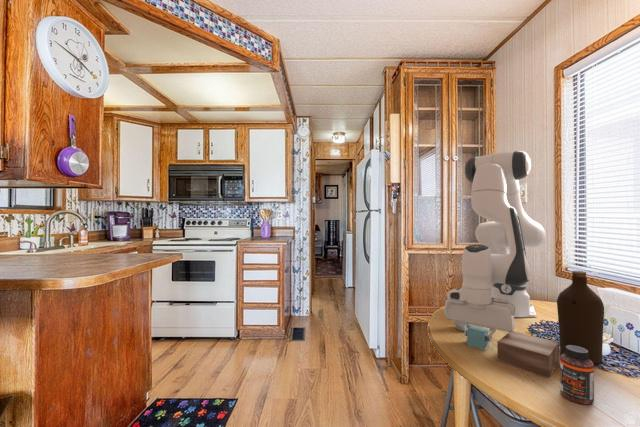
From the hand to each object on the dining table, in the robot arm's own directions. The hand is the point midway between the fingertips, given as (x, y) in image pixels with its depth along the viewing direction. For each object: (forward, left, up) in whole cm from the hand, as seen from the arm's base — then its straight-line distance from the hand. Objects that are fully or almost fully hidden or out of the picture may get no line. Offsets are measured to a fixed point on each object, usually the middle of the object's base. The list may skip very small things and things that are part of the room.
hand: (477, 338), depth 98 cm
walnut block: (+3, +14, -2) cm, 15 cm away
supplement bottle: (+16, +25, -2) cm, 30 cm away
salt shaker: (-11, -8, -2) cm, 14 cm away
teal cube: (0, 0, -2) cm, 2 cm away
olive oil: (-11, +25, -2) cm, 27 cm away
